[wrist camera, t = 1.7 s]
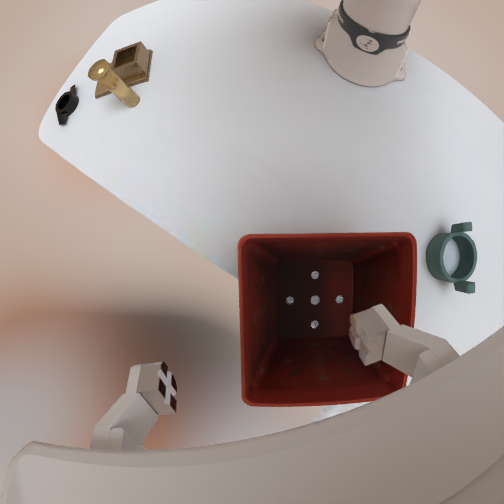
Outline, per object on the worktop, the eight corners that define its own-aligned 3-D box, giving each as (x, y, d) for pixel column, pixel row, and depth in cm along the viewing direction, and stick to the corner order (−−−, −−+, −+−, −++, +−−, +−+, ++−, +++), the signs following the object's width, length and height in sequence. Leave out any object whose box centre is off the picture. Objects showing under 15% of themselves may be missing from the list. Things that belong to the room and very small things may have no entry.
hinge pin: (130, 92, 48) (95, 59, 34) (145, 94, 48) (110, 59, 34) (122, 108, 48) (84, 78, 34) (136, 110, 48) (98, 78, 34)
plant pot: (373, 238, 43) (418, 232, 26) (369, 352, 43) (404, 397, 26) (255, 240, 45) (237, 234, 28) (257, 355, 45) (241, 406, 29)
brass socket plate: (102, 69, 49) (90, 58, 44) (152, 51, 48) (142, 37, 42) (96, 98, 49) (82, 88, 44) (148, 80, 48) (136, 67, 42)
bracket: (444, 291, 41) (471, 298, 32) (415, 254, 42) (442, 255, 33) (470, 255, 40) (499, 256, 32) (444, 218, 41) (472, 212, 32)
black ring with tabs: (90, 93, 50) (83, 88, 47) (65, 128, 51) (58, 124, 48) (76, 85, 51) (69, 81, 48) (53, 118, 51) (46, 114, 48)
